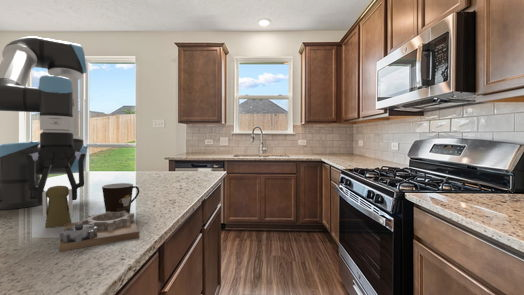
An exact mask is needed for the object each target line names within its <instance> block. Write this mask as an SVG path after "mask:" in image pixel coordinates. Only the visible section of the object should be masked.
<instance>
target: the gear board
mask: <svg viewBox="0 0 524 295" xmlns="http://www.w3.org/2000/svg"><path fill="white" fill-rule="evenodd" d="M76 223H83V225H94V227H96V226H97V235H95V236H94V238H92V239H87V240H83V241H82V242H77V243H76V242H69V243H63V241H60V240H59V244H58V245H59V246H58V248H59V249H58V250H59V252H63V251H70V250H75V249H81V248H86V247H92V246H98V245H102V244H108V243H116V242H120V241H127V240H131V239H137V238H138V239H139V237H140V230H139V229H138V227H137V225H136V222H135V213H134V212H130V213H129V214H128V213H127V211H121V212H110V211H107V212H106V211H105V212H103V213H98V214H90V215H88V217H87V218H86V219H81V221H75V222H71V223H66V224H65V226H63V231H64V229H66V228H70V227H73V226H75V224H76Z"/></svg>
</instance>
